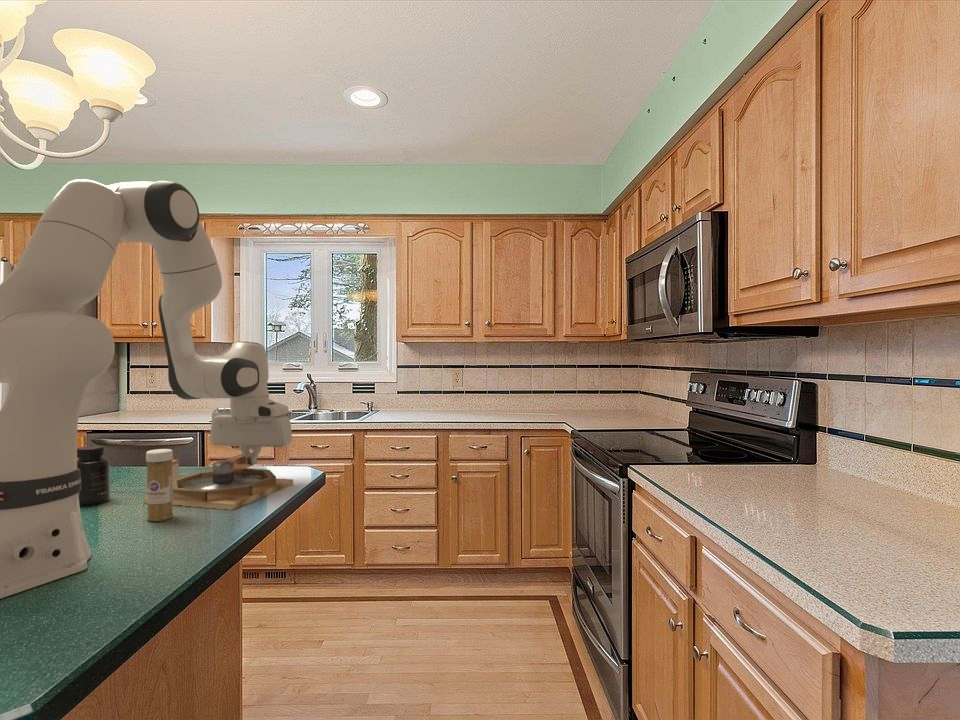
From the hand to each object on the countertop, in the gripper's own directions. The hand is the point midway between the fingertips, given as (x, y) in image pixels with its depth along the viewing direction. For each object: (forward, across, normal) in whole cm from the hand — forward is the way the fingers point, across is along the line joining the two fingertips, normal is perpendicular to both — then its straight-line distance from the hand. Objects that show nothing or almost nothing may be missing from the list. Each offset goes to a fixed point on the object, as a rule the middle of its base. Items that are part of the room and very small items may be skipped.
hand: (251, 464), depth 135 cm
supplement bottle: (+5, -25, -21) cm, 33 cm away
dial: (+3, -2, -7) cm, 8 cm away
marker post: (+5, -16, -8) cm, 18 cm away
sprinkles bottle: (+5, -2, -28) cm, 29 cm away
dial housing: (+5, -1, -9) cm, 10 cm away
